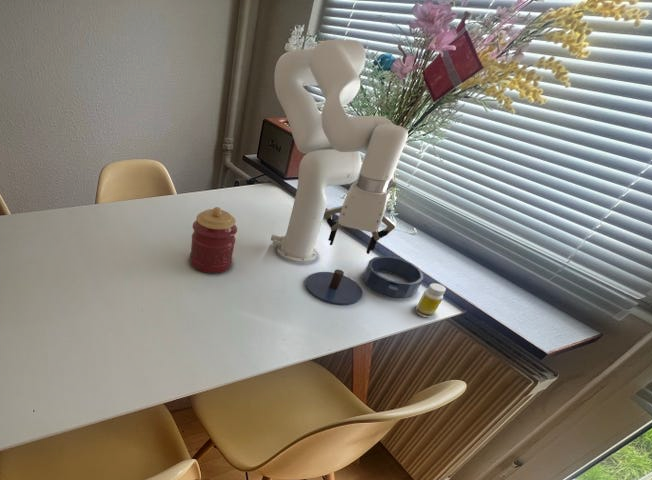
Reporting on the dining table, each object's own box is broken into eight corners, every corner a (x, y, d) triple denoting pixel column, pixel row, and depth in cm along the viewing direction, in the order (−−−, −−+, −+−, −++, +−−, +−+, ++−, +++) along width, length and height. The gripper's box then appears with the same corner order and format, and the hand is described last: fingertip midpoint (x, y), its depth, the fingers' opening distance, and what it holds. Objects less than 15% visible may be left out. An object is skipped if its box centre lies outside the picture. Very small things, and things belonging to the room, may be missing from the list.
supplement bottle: (434, 319, 117) (449, 293, 112) (416, 316, 118) (430, 290, 112) (430, 308, 121) (445, 283, 115) (413, 306, 121) (426, 280, 115)
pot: (358, 295, 123) (365, 280, 120) (365, 262, 138) (371, 247, 134) (414, 310, 120) (423, 294, 116) (415, 275, 134) (423, 260, 130)
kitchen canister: (210, 279, 125) (217, 222, 113) (180, 260, 132) (184, 204, 120) (240, 265, 132) (250, 210, 120) (210, 248, 139) (217, 194, 127)
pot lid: (299, 297, 121) (305, 278, 117) (310, 270, 132) (315, 252, 128) (358, 313, 117) (366, 294, 113) (363, 283, 128) (371, 265, 124)
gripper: (410, 184, 104) (383, 249, 115) (338, 171, 108) (319, 234, 120) (410, 195, 99) (382, 261, 110) (334, 180, 103) (314, 245, 115)
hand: (349, 247), depth 115 cm, fingers open, 9 cm apart
